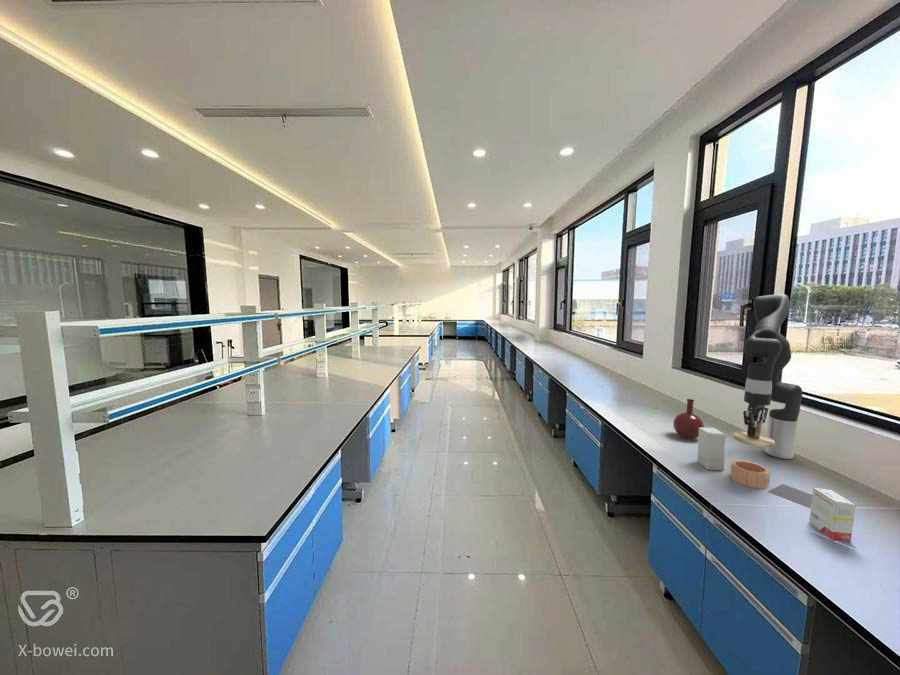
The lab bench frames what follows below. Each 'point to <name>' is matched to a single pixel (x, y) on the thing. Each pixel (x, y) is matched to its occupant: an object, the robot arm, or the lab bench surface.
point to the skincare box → (711, 448)
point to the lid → (754, 438)
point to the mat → (793, 495)
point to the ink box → (832, 514)
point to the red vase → (688, 422)
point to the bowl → (750, 474)
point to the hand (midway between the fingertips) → (753, 434)
